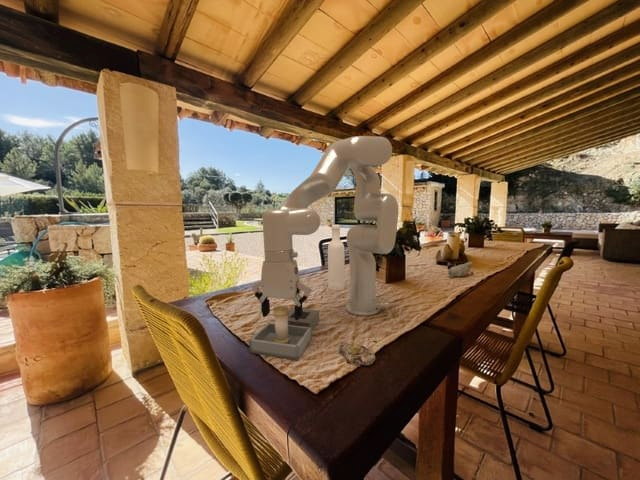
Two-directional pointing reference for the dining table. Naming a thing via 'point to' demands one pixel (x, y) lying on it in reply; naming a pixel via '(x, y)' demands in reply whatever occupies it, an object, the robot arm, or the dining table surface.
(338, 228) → the bottle
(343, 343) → the mineral rock
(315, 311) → the fuse holder
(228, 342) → the dining table surface
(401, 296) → the dining table surface
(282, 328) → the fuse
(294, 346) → the tray
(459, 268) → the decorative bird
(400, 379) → the dining table surface
